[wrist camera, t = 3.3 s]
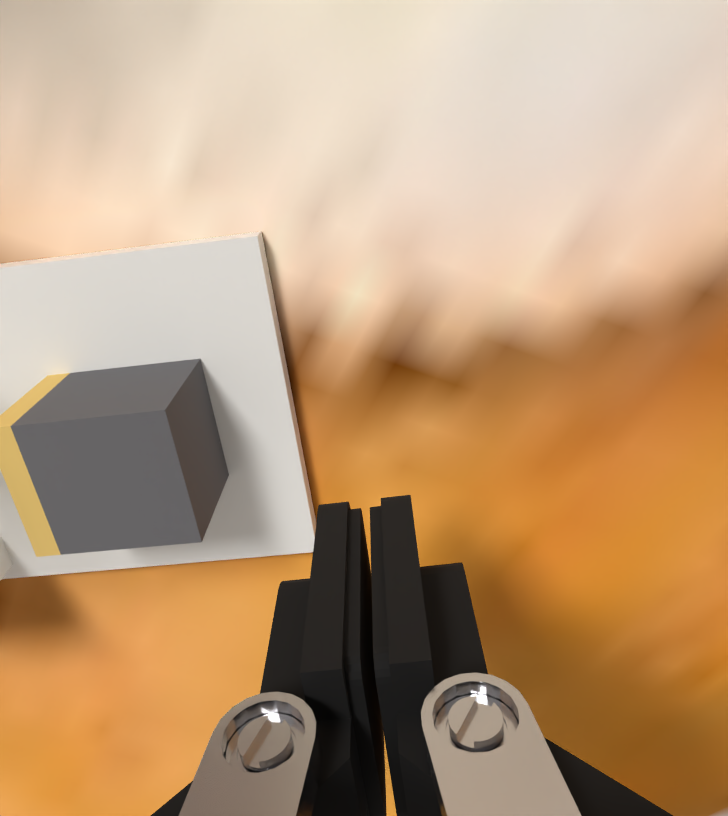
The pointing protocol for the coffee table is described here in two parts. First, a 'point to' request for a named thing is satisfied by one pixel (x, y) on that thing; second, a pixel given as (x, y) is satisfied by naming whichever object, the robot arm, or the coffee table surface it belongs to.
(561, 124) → the coffee table surface
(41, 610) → the coffee table surface
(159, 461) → the yellow-capped grey cube
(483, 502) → the coffee table surface
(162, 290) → the white ledged tray
